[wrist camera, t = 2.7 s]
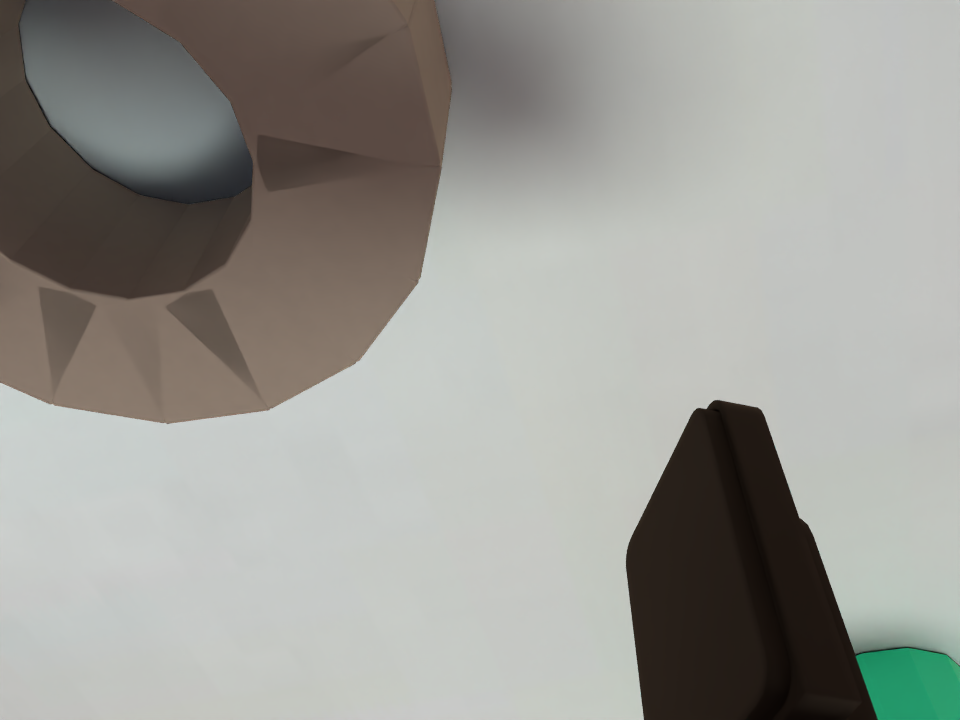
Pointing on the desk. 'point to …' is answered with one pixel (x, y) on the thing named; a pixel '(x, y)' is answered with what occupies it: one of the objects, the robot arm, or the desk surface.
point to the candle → (911, 684)
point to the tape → (228, 216)
